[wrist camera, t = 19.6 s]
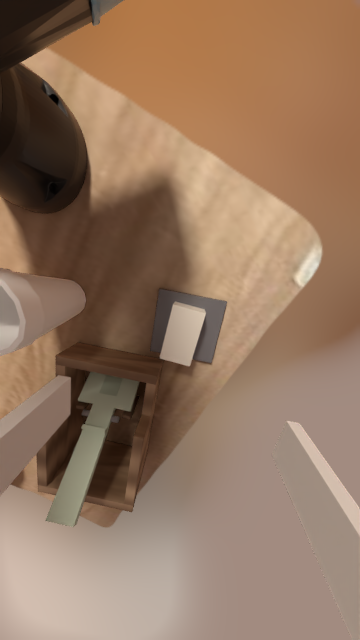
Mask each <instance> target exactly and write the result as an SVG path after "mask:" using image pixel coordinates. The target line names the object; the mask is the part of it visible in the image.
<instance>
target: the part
mask: <svg viewBox="0 0 360 640" xmlns="http://www.w3.org/2000/svg"><path fill="white" fill-rule="evenodd" d="M205 315H206V312H205V309H201V308H198V307H194V306H190V305H187V304H183V303H179V302H174V304H173V306H172V310H171V314H170V318H169V322H168V326H167V330H166V334H165V338H164V342H163V346H162V350H161V354H160V359H164V360H167V361H171V362H175V363H178V364H182V365H186V366H190V364H191V361H192V358H193V354H194V351H195V348H196V345H197V341H198V338H199V335H200V331H201V328H202V325H203V322H204V318H205Z"/></svg>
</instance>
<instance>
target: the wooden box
mask: <svg viewBox="0 0 360 640" xmlns="http://www.w3.org/2000/svg"><path fill="white" fill-rule="evenodd" d="M162 364H163V359H158V358H153V357H148V356H143V355H138V354H133V353H128V352H123V351H118V350H113V349H108V348H103V347H98V346H93V345H88V344H83V343H76V344H75V345H73V346H71V347H70V348H68V349H66V350H65V351H63V352H61V353H60V354H58V355H56V377H57V376H58V375H61V376H66V377H71V408H70V415H69V416H68V417H67V419H66V420H65V421H64V422H63V423H62V424H61V426H60V427H59V428H58V429H57V430H56V431H55V433H54V434H53V435H52V436H51V437H50V438H49V440H48V441H47V442H46V443H45V444H44V445H43V447H42V448H41V449H40V450H39V451H38V452H37V477H38V491H39V492H43V493H48V494H52V495H56V494H57V491H58V489H59V486H60V484H61V481H62V479H63V476H64V474H65V471H66V469H67V467H68V464H69V462H70V459H71V457H72V454H73V452H74V449H75V447H76V444H77V442H78V440H79V437H80V435H81V432H82V429H81V427H82V424H83V416H82V415H81V414H82V411H83V410H84V409H85V408H86V407H87V406H88V404H89V403H86V402H81V401H78V398H79V396H80V394H81V391H82V389H83V387H84V379H85V371H90V372H95V373H100V374H105V375H110V376H115V377H120V378H125V379H130V380H134V381H139V382H144V383H146V389H145V395H144V402H143V409H142V415H141V418H140V420H139V423H138V426H137V428H136V431H135V434H134V437H133V444H132V446H128V445H124V444H119V443H114V442H110V441H105V442H104V444H103V447H102V450H101V453H100V456H99V459H98V462H97V465H96V468H95V471H94V474H93V477H92V480H91V483H90V486H89V489H88V492H87V495H86V498H85V501H84V502H89V503H93V504H98V505H102V506H107V507H111V508H116V509H120V510H125V511H129V512H132V510H133V507H134V503H135V499H136V495H137V491H138V487H139V483H140V479H141V475H142V471H143V468H144V464H145V460H146V456H147V451H148V445H149V439H150V433H151V427H152V422H153V416H154V410H155V404H156V398H157V393H158V387H159V381H160V375H161V369H162ZM139 398H140V396H138V395H136V397H135V400H134V404H133V407H132V411H131V412H129V411H124V413H123V415H122V418H125V419H131V417H132V415H133V412H134V410H135V408H136V405H137V403H138V401H139Z"/></svg>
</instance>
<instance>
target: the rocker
mask: <svg viewBox="0 0 360 640" xmlns="http://www.w3.org/2000/svg"><path fill="white" fill-rule="evenodd" d="M139 383H140V382H139V381H134V380H130V379H125V378H120V377H115V376H110V375H105V374H100V373H95V372H90V374H89V376H88V378H87V381H86V383H85V385H84V387H83V389H82V391H81V394H80V396H79V398H78V401H81V402H86V403H91V404H93V405H92V408H91V410H85V409H84V410H83V411H82V414H81V415H82V416H87V417H88V418H87V420H86V422H85V424H83V425H82V427H81V429H83V430H82V432H81V435H80V437H79V440H78V442H77V444H76V447H75V449H74V452H73V454H72V457H71V459H70V462H69V464H68V467H67V469H66V471H65V474H64V476H63V479H62V481H61V484H60V486H59V489H58V491H57V494H56V496H55V498H54V501H53V503H52V506H51V508H50V511H49V513H48V516H47V518H46V521H49V522H54V523H57V524H62V525H66V526H71V527H74V526H75V525H76V524H77V521H78V518H79V515H80V512H81V509H82V506H83V503H84V501H85V498H86V495H87V492H88V489H89V486H90V483H91V480H92V477H93V474H94V471H95V468H96V465H97V462H98V459H99V456H100V453H101V450H102V447H103V444H104V442H105V439H106V436H107V433H108V430H109V427H110V424H111V422H115V423H118V422H119V419H120V417H118V416H114V412H115V409H120V410H124V411H129V412H131V411H132V407H133V404H134V400H135V397H136V393H137V390H138V387H139Z"/></svg>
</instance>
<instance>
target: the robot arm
mask: <svg viewBox="0 0 360 640" xmlns="http://www.w3.org/2000/svg"><path fill="white" fill-rule="evenodd" d="M122 1H123V0H0V196H1V197H3V198H4V199H6V200H7V201H9V202H11V203H13V204H15V205H17V206H20V207H22V208H25V209H27V210H30V211H33V212H37V213H52V212H56V211H58V210H61V209H63V208H64V207H66V206H67V205H69V204H70V203H71V202H72V201H73V200H74V199H75V197H76V196H77V194H78V193H79V191H80V189H81V187H82V185H83V182H84V178H85V174H86V167H87V154H86V146H85V141H84V137H83V134H82V131H81V129H80V126H79V124H78V122H77V120H76V118H75V117H74V115H73V113H72V112H71V111H70V109H69V108H68V107H67V105H66V104H65V103H64V101H63V100H62V99H61V97H60V96H59V95H58V93H57V92H56V91H55V90H54V89H53V88H52V87H51V86H50V85H49V84H48V83H47V82H46V81H45V80H43V79H42V78H41V77H40V76H38V75H37V74H36V73H34V72H33V71H32V70H30V69H29V68H28V67H26V66H25V65H24V64H22V63H21V62H22V61H24V60H26V59H27V58H29V57H31V56H33V55H34V54H36V53H38V52H40V51H41V50H43V49H45V48H47V47H48V46H50V45H52V44H54V43H55V42H57V41H59V40H61V39H62V38H64V37H65V36H67V35H69V34H71V33H72V32H74V31H76V30H78V29H80V28H82V27H83V26H84V25H87V24H89V23H90V22H92V24H93V26H95V25H98V24H99V23H100V17H101V16H102V15H103V14H105V13H106V12H108V11H109V10H110V9H112V8H113V7H115V6H116V5H118V4H119V3H120V2H122ZM70 408H71V377H66V376H61V375H58V376H57V377H55V378H54V379H53V380H51V381H50V382H49V383H48V384H46V385H45V386H44V387H42V388H41V389H40V390H38V391H37V392H36V393H35V394H33V395H32V396H31V397H29V398H28V399H27V400H25V401H24V402H23V403H22V404H20V405H19V406H18V407H16V408H15V409H14V410H12V411H11V412H10V413H9V414H7V415H6V416H5V417H3V418H2V419H1V420H0V495H1V494H2V493H3V492H4V491H5V490H6V489H7V487H8V486H9V485H10V484H11V483H12V482H13V480H14V479H15V478H16V477H17V476H18V475H19V473H20V472H21V471H22V470H23V469H24V468H25V466H26V465H27V464H28V463H29V462H30V461H31V459H32V458H33V457H34V456H35V455H36V454H37V452H38V451H39V450H40V449H41V448H42V447H43V445H44V444H45V443H46V442H47V441H48V440H49V438H50V437H51V436H52V435H53V434H54V433H55V431H56V430H57V429H58V428H59V427H60V426H61V424H62V423H63V422H64V421H65V420H66V419H67V417H68V416H69V415H70ZM272 457H273V459H274V461H275V464H276V466H277V469H278V471H279V473H280V476H281V478H282V480H283V482H284V485H285V487H286V489H287V492H288V494H289V496H290V499H291V501H292V503H293V505H294V508H295V510H296V512H297V515H298V517H299V519H300V522H301V524H302V526H303V528H304V531H305V533H306V535H307V538H308V540H309V542H310V545H311V547H312V549H313V552H314V554H315V556H316V559H317V561H318V563H319V565H320V568H321V570H322V572H323V575H324V577H325V579H326V582H327V584H328V586H329V589H330V591H331V593H332V596H333V598H334V600H335V602H336V605H337V607H338V609H339V612H340V614H341V616H342V619H343V621H344V623H345V625H346V628H347V630H348V632H349V635H350V637H351V639H352V640H360V508H359V507H358V505H357V504H356V503H355V501H354V500H353V498H352V497H351V495H350V494H349V493H348V491H347V490H346V489H345V487H344V486H343V484H342V483H341V481H340V480H339V479H338V477H337V476H336V474H335V473H334V472H333V470H332V469H331V467H330V466H329V464H328V463H327V462H326V460H325V459H324V457H323V456H322V455H321V453H320V452H319V450H318V449H317V447H316V446H315V445H314V443H313V442H312V440H311V439H310V438H309V436H308V435H307V433H306V432H305V431H304V429H303V428H302V426H301V425H300V424H299V423H295V422H290V421H286V423H285V425H284V428H283V430H282V432H281V435H280V437H279V439H278V442H277V444H276V446H275V449H274V451H273V453H272Z"/></svg>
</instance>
